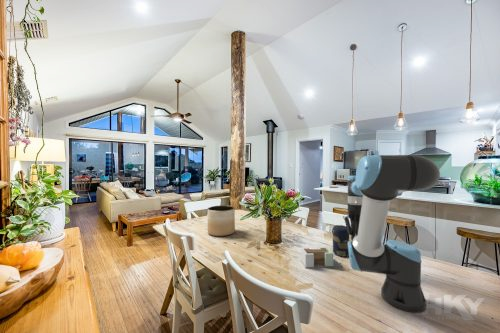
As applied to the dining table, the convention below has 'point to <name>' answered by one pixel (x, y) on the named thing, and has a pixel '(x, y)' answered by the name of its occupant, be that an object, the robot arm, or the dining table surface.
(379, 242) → the robot arm
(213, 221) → the planter
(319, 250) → the block
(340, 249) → the canister
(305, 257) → the endcap base
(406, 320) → the dining table surface
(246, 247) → the dining table surface
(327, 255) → the end cap
